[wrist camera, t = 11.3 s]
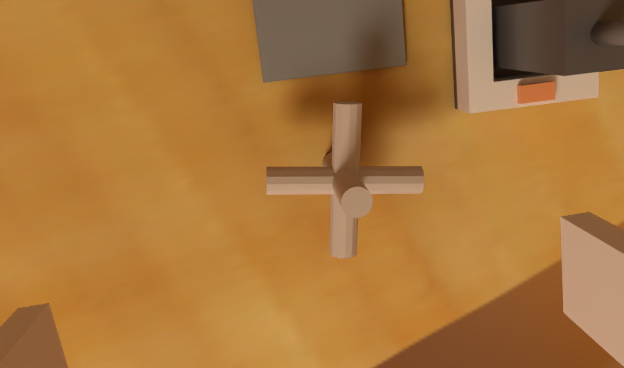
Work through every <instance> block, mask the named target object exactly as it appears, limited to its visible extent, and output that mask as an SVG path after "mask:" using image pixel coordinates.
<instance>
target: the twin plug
mask: <svg viewBox="0 0 624 368" xmlns="http://www.w3.org/2000/svg"><path fill="white" fill-rule="evenodd" d="M492 44H493V67H497V68H505V69H513V70H521V71H528V72H536V73H544V74H552V75H559V76H570V75H578V74H586V73H594V72H602V71H610V70H618V69H624V0H543V1H535V2H528V3H520V4H513V5H505V6H498V7H492Z"/></svg>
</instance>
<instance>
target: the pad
mask: <svg viewBox="0 0 624 368" xmlns="http://www.w3.org/2000/svg"><path fill="white" fill-rule="evenodd" d="M253 7H254V15H255V22H256V30H257V37H258V44H259V52H260V59H261V67H262V74H263V82H271V81H279V80H288V79H296V78H304V77H313V76H321V75H329V74H337V73H346V72H354V71H362V70H370V69H379V68H387V67H395V66H403V65H406V56H405V41H404V26H403V11H402V0H253Z"/></svg>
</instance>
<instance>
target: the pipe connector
mask: <svg viewBox="0 0 624 368" xmlns="http://www.w3.org/2000/svg"><path fill="white" fill-rule="evenodd" d="M361 126H362V103H361V102H353V101H338V102H334V103H333V136H332V152H330V153H328V154H327V155H326V156H325V157H324V159H323V163H322V164H323V167H267V195H272V194H331V213H330V252H329V254H330V255H332V256H333V257H337V258H352V257H354V256H356V253H357V228H358V218H359V217H363V216H365V215H366V214H367V213H368V212H369V211H370V210H371V208H372V205H373V198H372V195H371V194H418V193H422V191H423V187H424V173H423V169H422V167H421V166H386V167H360V151H361Z"/></svg>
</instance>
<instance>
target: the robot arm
mask: <svg viewBox="0 0 624 368" xmlns="http://www.w3.org/2000/svg"><path fill="white" fill-rule="evenodd" d="M561 246H562V278H563V307H564V308H563V309H564V313H565V314H566V315H567V316H568V317H569V318H570V319H571V320H572V321H574V322H575V323H576V324H577V325H578V326H579V327H580V328H581V329H583V330H584V331H585V332H586V333H587V334H588V335H589V336H590V337H592V338H593V339H594V340H595V341H596V342H597V343H598V344H599V345H600V346H601V347H603V348H604V349H605V350H606V351H607V352H608V353H609V354H610V355H611V356H612V357H614V358H615V359H616V360H617V361H618V362H619V363H620V364H622V366H624V230H623V229H621V228H619V227H617V226H615V225H613V224H611V223H609V222H607V221H605V220H604V219H602V218H600V217H598V216H596V215H594V214H592V213H590V212H586V213H580V214H574V215H568V216H562V217H561ZM0 368H68V366H67V363H66V360H65V356H64V353H63V349H62V346H61V343H60V339H59V336H58V332H57V329H56V325H55V322H54V319H53V315H52V312H51V308H50V305H49V303H47V304H41V305H35V306H29V307H23V308H18V309H17V310H16V311H15V312H14V313H13V314H12V315H11V316H10V317H9V318H8V320H7V321H6V322H5V323H4V324H3V325H2V326H1V327H0Z"/></svg>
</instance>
